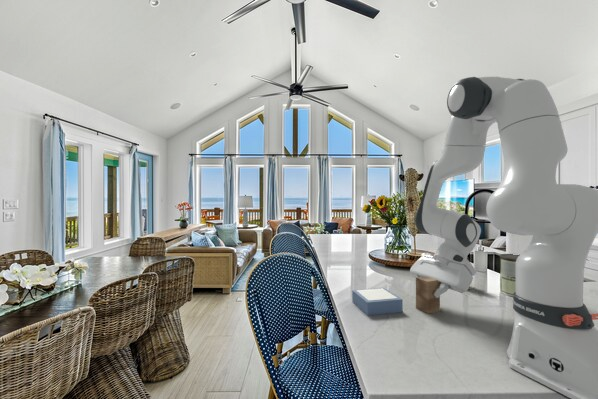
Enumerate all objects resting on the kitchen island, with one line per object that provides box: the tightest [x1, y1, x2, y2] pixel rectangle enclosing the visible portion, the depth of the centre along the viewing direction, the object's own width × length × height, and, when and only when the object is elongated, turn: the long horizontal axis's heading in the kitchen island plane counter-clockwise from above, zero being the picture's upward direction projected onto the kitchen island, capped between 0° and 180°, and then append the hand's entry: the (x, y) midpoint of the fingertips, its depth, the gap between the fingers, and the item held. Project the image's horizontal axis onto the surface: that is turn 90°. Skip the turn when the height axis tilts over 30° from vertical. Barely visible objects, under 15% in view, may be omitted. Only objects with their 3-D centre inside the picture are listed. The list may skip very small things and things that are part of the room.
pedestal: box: [351, 287, 404, 316], centre depth 95 cm, size 12×12×4 cm
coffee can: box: [499, 253, 520, 298], centre depth 106 cm, size 10×10×14 cm
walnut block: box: [415, 276, 441, 315], centre depth 92 cm, size 5×5×10 cm
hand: (426, 293), depth 92 cm, fingers closed on walnut block, 5 cm apart
